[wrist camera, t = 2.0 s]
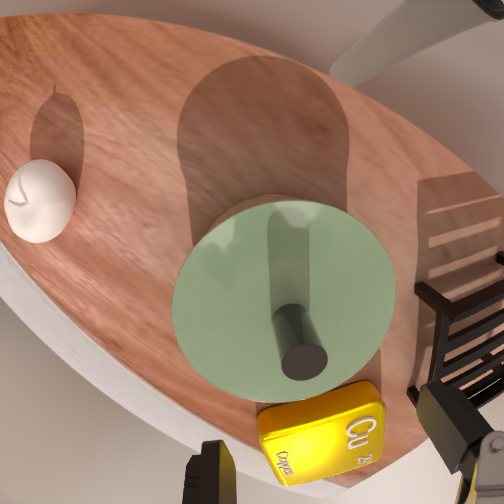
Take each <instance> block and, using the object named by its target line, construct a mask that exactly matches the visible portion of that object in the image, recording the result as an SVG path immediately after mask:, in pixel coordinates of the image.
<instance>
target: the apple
mask: <svg viewBox="0 0 504 504" xmlns="http://www.w3.org/2000/svg"><path fill="white" fill-rule="evenodd" d="M75 203H76V190H75V186H74V184H73V182H72V180H71V179H70V177H69V176H68V175H67V174H66V173H65V172H64V171H63V170H62V169H61V167H59V166H58V165H57V164H55V163H54V162H51V161H48V160H40V159H37V160H32V161H29V162H27V163H25V164H24V165H22V166H21V167H20V168H19V169H18V170H17V171H16V172H15V173H14V175H13V176H12V178H11V179H10V181H9V184H8V186H7V190H6V194H5V198H4V207H5V212H6V215H7V218H8V221H9V224H10V226H11V229H12V230H13V232H14V233H15V234H17V235H18V236H19V237H21V238H22V239H24V240H26V241H29V242H33V243H41V242H46V241H49V240H51V239H53V238H55V237H56V236H57V235H59V234H60V233H61V232H62V230H63V229H64V228H65V226H66V225H67V223H68V222H69V220H70V218H71V215H72V213H73V210H74V207H75Z"/></svg>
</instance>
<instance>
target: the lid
mask: <svg viewBox="0 0 504 504" xmlns="http://www.w3.org/2000/svg"><path fill="white" fill-rule="evenodd" d="M395 304H396V283H395V275H394V271H393V267H392V264H391V261H390V259H389V256H388V254H387V252H386V250H385V249H384V247H383V245H382V244H381V242H380V240H379V239H378V238H377V237H376V236H375V234H374V233H373V232H372V231H371V230H370V229H369V228H368V227H367V226H366V225H364V224H363V223H362V222H361V221H360V220H358V219H357V218H355V217H353V216H352V215H350V214H349V213H347V212H345V211H343V210H340V209H338V208H336V207H334V206H331V205H328V204H324V203H320V202H317V201H310V200H302V199H283V200H276V201H269V202H264V203H261V204H257V205H254V206H251V207H248V208H246V209H243V210H241V211H239V212H237V213H235V214H232V215H231V216H229V217H228V218H226V219H225V220H223V221H221V222H220V223H218V224H217V225H216V226H215V227H213V228H212V229H211V230H210V231H209V232H207V233H206V234H205V235H204V236H203V237H202V238H201V240H200V241H199V242H198V243H197V244H196V245H195V246H194V248H193V249H192V251H191V252H190V254H189V255H188V257H187V258H186V260H185V262H184V264H183V266H182V268H181V270H180V272H179V274H178V277H177V280H176V283H175V287H174V290H173V297H172V322H173V328H174V332H175V335H176V338H177V341H178V344H179V346H180V348H181V350H182V352H183V354H184V356H185V357H186V358H187V360H188V361H189V363H190V364H191V365H192V367H193V368H194V369H195V370H196V371H197V372H198V373H199V374H200V375H201V376H202V377H204V378H205V379H206V380H207V381H208V382H210V383H211V384H213V385H214V386H216V387H218V388H219V389H221V390H223V391H225V392H227V393H229V394H232V395H235V396H237V397H240V398H244V399H248V400H253V401H259V402H269V403H281V402H292V401H298V400H303V399H307V398H310V397H314V396H317V395H320V394H322V393H324V392H327V391H329V390H331V389H333V388H335V387H337V386H339V385H340V384H342V383H343V382H345V381H346V380H348V379H349V378H351V377H352V376H353V375H355V374H356V373H357V372H358V371H359V370H360V369H362V368H363V367H364V365H365V364H366V363H367V362H368V361H369V360H370V359H371V358H372V357H373V355H374V354H375V353H376V351H377V350H378V349H379V347H380V345H381V344H382V342H383V340H384V339H385V336H386V334H387V332H388V330H389V328H390V325H391V321H392V318H393V315H394V309H395Z"/></svg>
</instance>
